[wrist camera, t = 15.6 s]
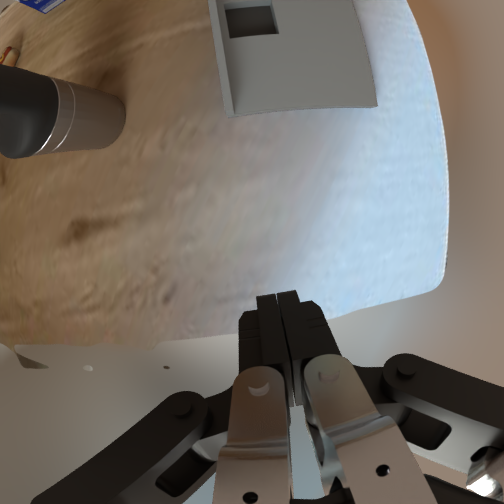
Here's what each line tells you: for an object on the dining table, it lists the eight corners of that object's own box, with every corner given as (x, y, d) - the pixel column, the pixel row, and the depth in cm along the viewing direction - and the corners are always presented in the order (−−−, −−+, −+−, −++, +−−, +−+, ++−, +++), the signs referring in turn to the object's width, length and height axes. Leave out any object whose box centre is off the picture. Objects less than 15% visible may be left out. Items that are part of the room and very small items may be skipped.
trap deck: (228, 118, 35) (225, 111, 29) (203, -42, 23) (198, -61, 17) (370, 108, 35) (390, 103, 29) (326, -45, 22) (335, -63, 16)
